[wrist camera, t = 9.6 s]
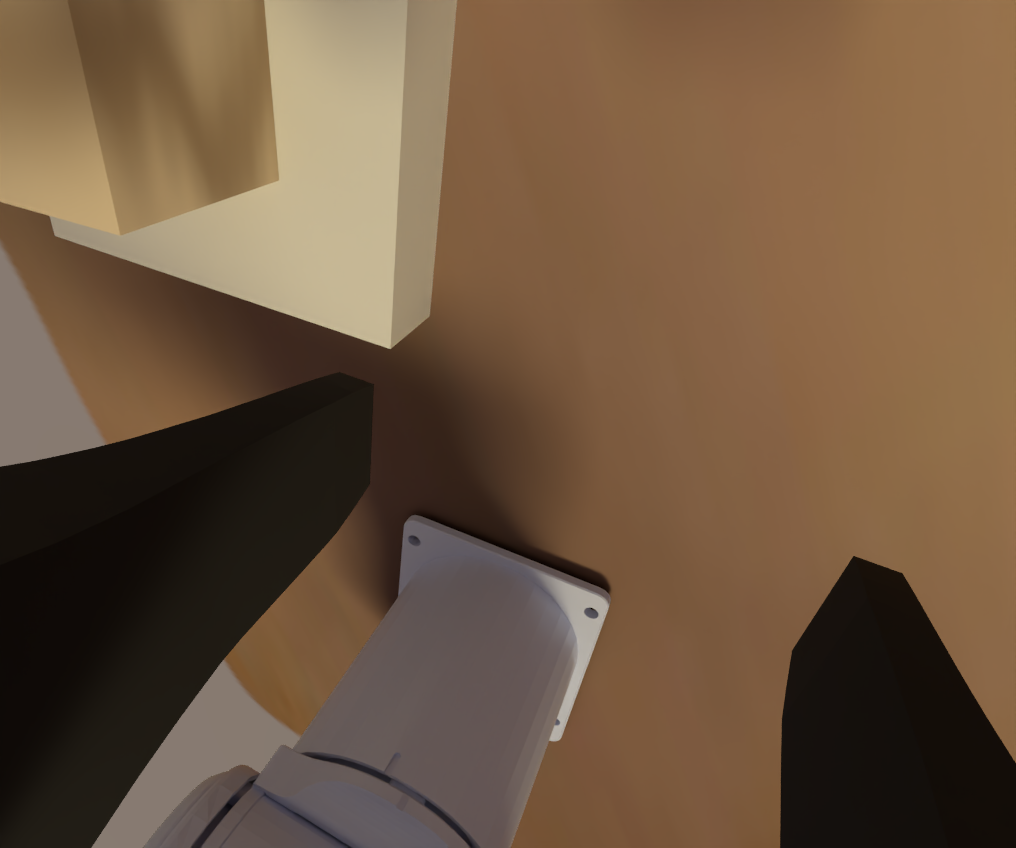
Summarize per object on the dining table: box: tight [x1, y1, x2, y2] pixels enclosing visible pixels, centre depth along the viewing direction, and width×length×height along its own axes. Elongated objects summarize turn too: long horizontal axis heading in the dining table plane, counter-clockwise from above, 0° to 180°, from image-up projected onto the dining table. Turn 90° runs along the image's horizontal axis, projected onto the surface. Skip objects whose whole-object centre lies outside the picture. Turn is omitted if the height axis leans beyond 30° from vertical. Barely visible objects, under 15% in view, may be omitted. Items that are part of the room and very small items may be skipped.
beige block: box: [50, 0, 457, 349], centre depth 18 cm, size 12×12×3 cm
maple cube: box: [0, 0, 279, 236], centre depth 14 cm, size 5×5×5 cm
